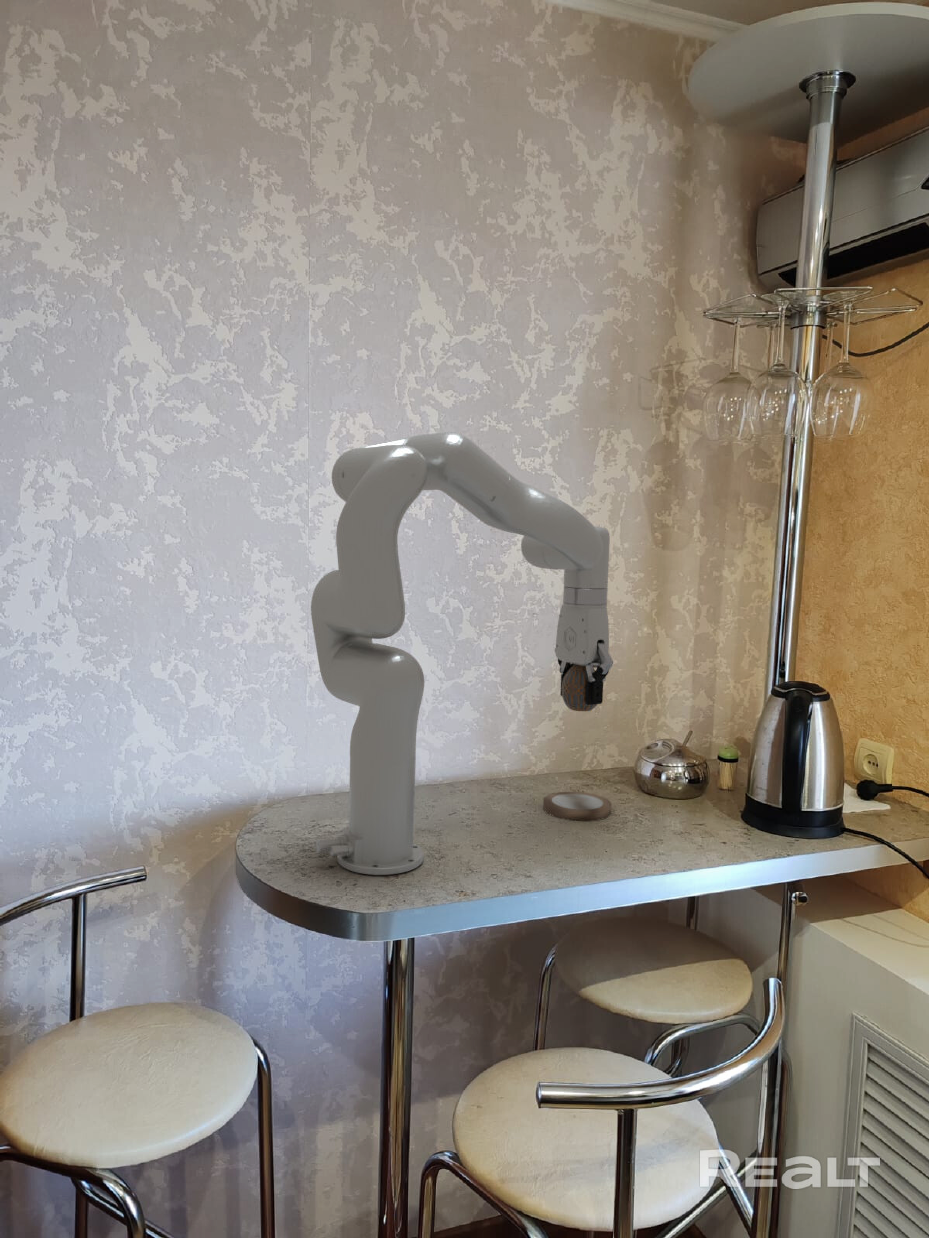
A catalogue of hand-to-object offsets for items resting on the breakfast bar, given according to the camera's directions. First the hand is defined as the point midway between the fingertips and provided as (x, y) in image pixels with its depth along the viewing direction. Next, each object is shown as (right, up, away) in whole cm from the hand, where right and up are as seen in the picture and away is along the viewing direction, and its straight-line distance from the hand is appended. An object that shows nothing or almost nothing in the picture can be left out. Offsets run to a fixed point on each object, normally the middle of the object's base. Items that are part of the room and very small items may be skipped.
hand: (581, 699), depth 155 cm
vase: (0, -2, 0) cm, 2 cm away
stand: (0, -20, +2) cm, 20 cm away
